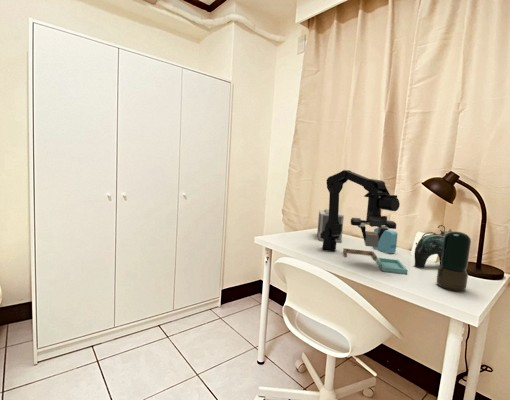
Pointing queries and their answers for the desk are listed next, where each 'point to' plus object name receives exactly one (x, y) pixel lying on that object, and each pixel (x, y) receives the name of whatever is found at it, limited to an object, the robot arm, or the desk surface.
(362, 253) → the grey brown u-shaped piece
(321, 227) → the alarm clock
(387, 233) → the data package
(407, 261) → the desk surface
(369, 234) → the grey brown block
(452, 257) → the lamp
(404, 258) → the desk surface
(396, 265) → the tray
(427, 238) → the travel neck pillow
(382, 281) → the desk surface
